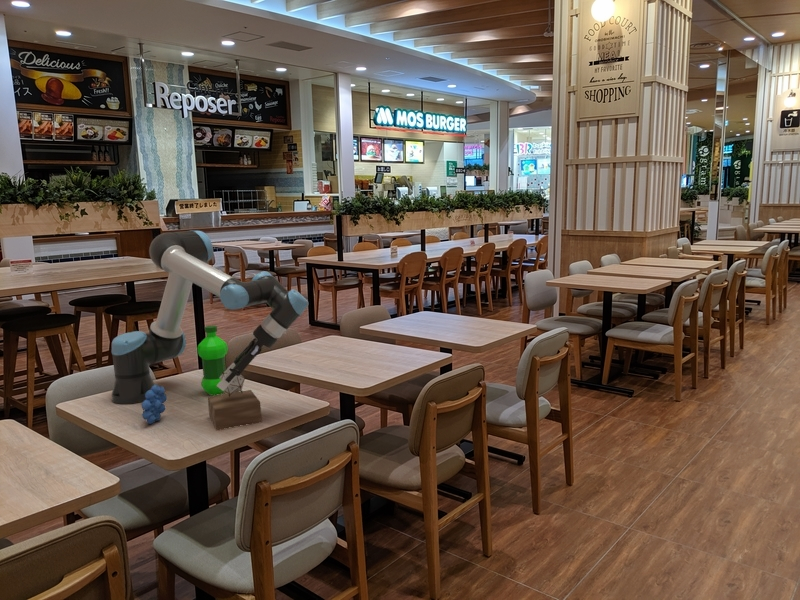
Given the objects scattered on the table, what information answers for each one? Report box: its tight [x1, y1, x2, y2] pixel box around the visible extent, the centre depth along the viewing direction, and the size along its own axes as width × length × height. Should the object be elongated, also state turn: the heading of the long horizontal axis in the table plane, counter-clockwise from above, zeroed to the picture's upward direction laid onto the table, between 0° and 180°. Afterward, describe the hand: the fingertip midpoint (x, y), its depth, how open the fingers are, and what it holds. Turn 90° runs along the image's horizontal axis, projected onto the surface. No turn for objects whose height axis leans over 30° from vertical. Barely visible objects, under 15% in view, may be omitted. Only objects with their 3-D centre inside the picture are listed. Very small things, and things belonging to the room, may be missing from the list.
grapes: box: [141, 384, 168, 425], centre depth 197 cm, size 12×7×12 cm, turn 167°
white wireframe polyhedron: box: [221, 372, 248, 397], centre depth 196 cm, size 9×8×10 cm
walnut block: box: [207, 389, 262, 431], centre depth 197 cm, size 14×14×7 cm
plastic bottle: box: [197, 325, 229, 396], centre depth 223 cm, size 10×10×25 cm
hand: (221, 384), depth 195 cm, fingers closed on white wireframe polyhedron, 8 cm apart
